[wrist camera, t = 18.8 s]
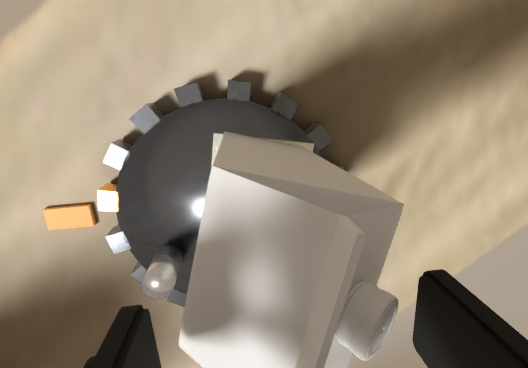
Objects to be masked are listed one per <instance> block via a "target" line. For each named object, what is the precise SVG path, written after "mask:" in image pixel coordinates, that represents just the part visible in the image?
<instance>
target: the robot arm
mask: <svg viewBox="0 0 528 368" xmlns="http://www.w3.org/2000/svg"><path fill="white" fill-rule="evenodd" d="M413 344H414V347H415V349H416V351H417V352H418V354H419V355H420V357H421V358H422V359H423V361H424V362H425V364H426V365H427V367H428V368H528V340H527V339H526V338H525V337H523V336H522V335H521V334H519V332H517V331H516V330H515V329H514V328H513V327H512V326H510V325H509V324H508V323H507V322H506V321H504V320H503V319H502V318H501V317H500V316H498V315H497V314H496V313H495V312H494V311H493V310H491V309H490V308H489V307H488V306H487V305H485V304H484V303H483V302H482V301H481V300H479V299H478V298H477V297H476V296H475V295H474V294H472V293H471V292H470V291H469V290H468V289H466V288H465V287H464V286H463V285H462V284H461V283H459V282H458V281H457V280H456V279H455V278H453V277H452V276H451V275H450V274H449V273H448V272H446V271H445V270H442V269H441V270H432V271H426V272H424V273H423V276H421V277H420V278H419V283H418V293H417V302H416V312H415V321H414V331H413ZM83 368H161V364H160V359H159V355H158V350H157V346H156V341H155V336H154V332H153V327H152V323H151V318H150V313H149V310H148V309H143V307H142V305H134V306H126V307H122V308H121V309H120V310H119V312H118V314H117V316H116V318H115V320H114V322H113V324H112V326H111V328H110V329H109V331H108V333H107V335H106V337H105V339H104V341H103V343H102V345H101V347H100V349H99V351H98V352H97V354H96V356H94V357H91V358H90V359H88V361H87V362H86V364H85V365H84V367H83Z"/></svg>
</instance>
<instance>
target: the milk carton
mask: <svg viewBox="0 0 528 368" xmlns="http://www.w3.org/2000/svg"><path fill="white" fill-rule="evenodd" d="M403 206H404V204H402V203H400V202H399V201H397V200H395V199H394V198H392V197H390V196H388V195H387V194H385V193H383V192H381V191H380V190H378V189H376V188H374V187H373V186H371V185H369V184H367V183H366V182H364V181H362V180H360V179H359V178H357V177H355V176H353V175H352V174H350V173H348V172H346V171H344V170H343V169H341V168H339V167H337V166H336V165H334V164H332V163H330V162H329V161H327V160H325V159H323V158H322V157H320V156H318V155H316V154H315V153H313V152H311V151H309V150H307V149H304V148H299V147H294V146H290V145H285V144H281V143H276V142H272V141H267V140H262V139H258V138H253V137H249V136H244V135H239V134H235V133H230V132H224V134H223V137H222V140H221V143H220V146H219V148H218V151H217V154H216V157H215V160H214V163H213V166H212V169H211V172H210V176H209V181H208V186H207V191H206V196H205V202H204V207H203V212H202V218H201V223H200V228H199V234H198V239H197V244H196V250H195V255H194V260H193V266H192V271H191V276H190V281H189V287H188V292H187V297H186V303H185V308H184V313H183V319H182V324H181V330H180V336H179V347H180V348H181V349H183V350H184V351H185V352H186V353H187V354H188V355H189V356H190V357H191V358H193V359H194V360H195V361H196V362H197V363H198V364H199V365H200V366H202V367H203V368H346V367H347V366H348V364H349V362H350V360H351V357H352V354H355V355H356V356H357V357H359V358H360V359H361V360H363V361H367V360H369V359H370V358H372V357H373V356H374V355H375V354H376V352H377V351H378V350H379V349H380V347H381V346H382V344H383V343H384V341H385V339H386V337H387V335H388V333H389V331H390V329H391V326H392V324H393V322H394V319H395V316H396V313H397V309H398V299H397V298H396V297H395V296H393V295H391V294H390V293H388V292H386V291H384V290H381V289H379V288H378V287H377V286H376V285H377V283H378V280H379V277H380V274H381V271H382V268H383V265H384V263H385V260H386V256H387V254H388V251H389V248H390V245H391V242H392V239H393V236H394V233H395V231H396V228H397V225H398V222H399V219H400V216H401V213H402V209H403Z"/></svg>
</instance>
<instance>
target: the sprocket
mask: <svg viewBox="0 0 528 368" xmlns="http://www.w3.org/2000/svg"><path fill="white" fill-rule="evenodd" d="M174 90H175V93H176V96H177V99H178V101H179V104H180V107H181V108H178V109H176V110H174V111H172V112H170V113H168V114H166V115H165V116H164V115H163V114H162V113H161V112H160V111H159V110H158V108H157V107H156V106H155V105H154V104H153V103H149V104H146V105H144V106H143V107H142V108H141V109H140V110H139V111H137V112H136V113H135V114H134V115H133V116H132V117H131V118H129V119H130V120H131V121H132V122H133V123H134V124H135V125H136V126H137V128H138V129H139V130H140V131H141V132H142V133H143V134H141V135H140V137H139V138H138V139H137V141H136V142H135V143H134V145H131V144H129V143H127V142H125V141H123V140H121V139H120V140H117V141H115V142H112V143H111V145H110V147H109V149H108V152H107V154H106V156H105V159H104V161H103V163H105V164H107V165H109V166H112V167H114V168H116V169H118V170H120V173H119V177H118V182H117V184H108V183H107V184H106V185H104V186H103V187H102V188H100V189H99V190H98V210H99V211H113V212H117V218H118V222H119V226H116V227H114V228H113V229H112V230H111V231H110V232H109V233H108V234H107V236H106V239H107V241H108V243H109V245H110V247H111V249H112V251H113V253H114V254H116V253H119V252H123V251H126V250H129V249H130V251H131V252H132V254H133V255H134V256H135V258H136V259H137V260H138V263H137V264H136V266H135V268H134V269H133V271H132V273H131V276H132V277H133V278H135V279H136V280H137V281H138V282H139V283H140V284H141V286H142V290H143V292H144V293H145V294H146V295H147V296H148V297H150V298H153V299H163V298H166V297H168V299H167V301H170V302H172V303H175V304H178V305H180V306H183V307H185V303H186V297H187V292H188V287H189V281H190V276H191V271H192V266H193V260H194V255H195V250H196V244H197V239H198V234H199V228H200V223H201V218H202V212H203V207H204V202H205V196H206V191H207V186H208V181H209V176H210V172H211V169H212V166H213V163H214V160H215V157H216V154H217V151H218V148H219V146H220V143H221V140H222V137H223V134H224V132H230V133H235V134H239V135H244V136H249V137H253V138H258V139H262V140H267V141H272V142H276V143H281V144H285V145H290V146H294V147H299V148H304V149H307V150H309V151H311V152H313V153H315V154H316V155H318V156H320V157H322V155H321V153H320V152H319V151H320V150H321V149H323V148H324V147H325V146H327V145H328V144H329V143H330V142H332V141H333V140H332V139H331V137H330V136H329V134H328V133H327V132H326V130H325V129H324V127H323V126H322V125H321V124H320V123H317V122H314V123H313V124H311V125H310V126H309V127H308V128H306V129H305V130H304V131H303V130H302V129H301V128H300V127H299V126H298V125H296V124H295V123H294V122H293V121H291V118H292V117H293V115H294V113H295V111H296V110H297V108H298V106H299V103H297V102H295V101H294V100H292V99H290V98H289V97H287V96H285V95H284V94H282V93H277V94H276V96H275V98H274V100H273V102H272V103H271V105H270V107H269V108H268V107H266V106H263V105H260V104H257V103H254V102H251V101H249V100H250V91H251V83H250V82H242V81H234V80H228V91H227V98H221V99H209V100H205V99H204V96H203V93H202V90H201V87H200V84H199V83H197V82H195V83H192V84H189V85H185V86H182V87H178V88H175V89H174ZM322 158H323V157H322ZM330 163H332V164H334V165H336V166H337V167H339V168H341V169H343V170H344V165H342V164H341V163H339V162H338V161H333V162H330ZM344 171H345V170H344Z"/></svg>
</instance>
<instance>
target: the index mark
mask: <svg viewBox="0 0 528 368" xmlns="http://www.w3.org/2000/svg"><path fill="white" fill-rule="evenodd" d="M42 211H43V214H44V217H45V221H46V224H47V227H48V230H58V229H68V228H78V227H88V226H94V225H95V224H96V221H95V217H94V213H93V209H92V205H91V204H84V205H73V206H62V207H52V208H45V209H43V210H42Z"/></svg>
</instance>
